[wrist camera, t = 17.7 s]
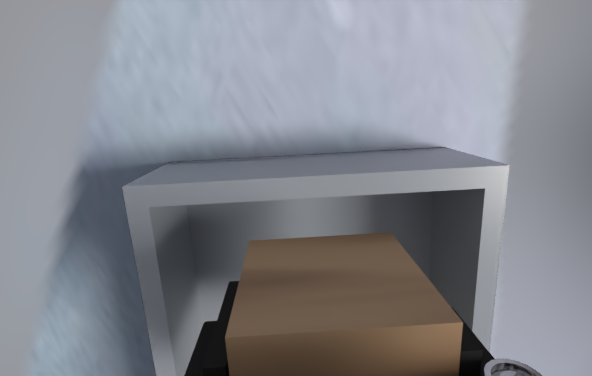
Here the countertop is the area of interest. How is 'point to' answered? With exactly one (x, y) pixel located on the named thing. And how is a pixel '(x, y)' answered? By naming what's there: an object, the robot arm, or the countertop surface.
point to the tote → (310, 227)
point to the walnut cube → (339, 311)
